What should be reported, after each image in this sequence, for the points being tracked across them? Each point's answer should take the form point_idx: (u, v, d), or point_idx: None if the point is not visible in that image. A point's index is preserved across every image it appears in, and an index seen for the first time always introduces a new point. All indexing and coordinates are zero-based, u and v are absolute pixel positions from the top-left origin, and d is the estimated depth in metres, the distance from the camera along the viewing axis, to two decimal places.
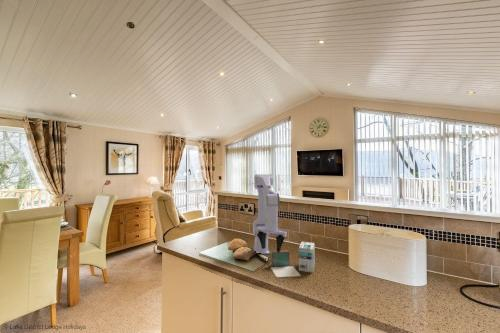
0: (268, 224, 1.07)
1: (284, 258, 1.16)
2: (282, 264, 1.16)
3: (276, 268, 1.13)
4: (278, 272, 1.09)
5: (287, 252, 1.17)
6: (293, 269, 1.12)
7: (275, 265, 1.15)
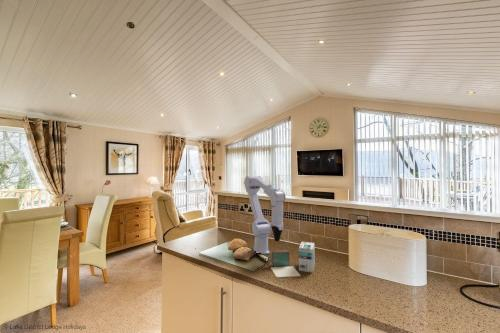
0: None
1: (284, 258, 1.16)
2: (282, 264, 1.16)
3: (276, 268, 1.13)
4: (278, 272, 1.09)
5: (287, 252, 1.17)
6: (293, 269, 1.12)
7: (275, 265, 1.15)
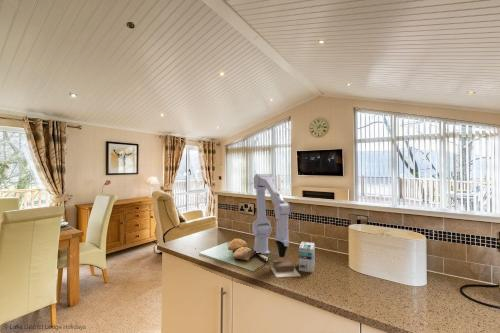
0: (276, 231, 1.15)
1: None
2: None
3: None
4: (278, 272, 1.09)
5: (291, 270, 1.10)
6: None
7: None
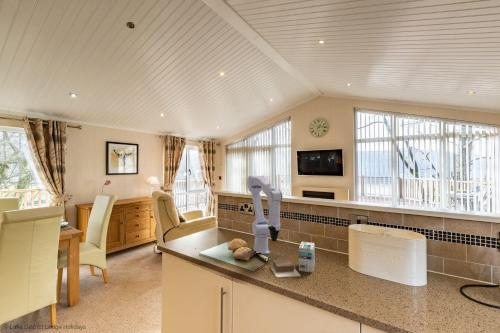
0: None
1: None
2: None
3: None
4: (278, 272, 1.09)
5: (291, 270, 1.10)
6: None
7: None
